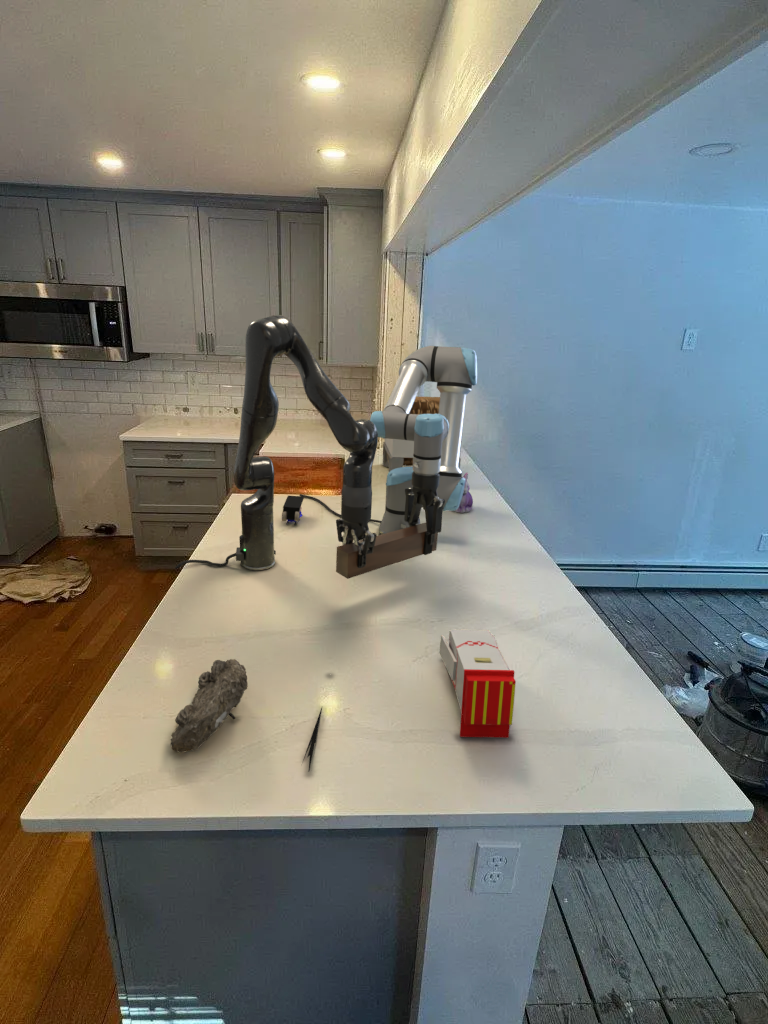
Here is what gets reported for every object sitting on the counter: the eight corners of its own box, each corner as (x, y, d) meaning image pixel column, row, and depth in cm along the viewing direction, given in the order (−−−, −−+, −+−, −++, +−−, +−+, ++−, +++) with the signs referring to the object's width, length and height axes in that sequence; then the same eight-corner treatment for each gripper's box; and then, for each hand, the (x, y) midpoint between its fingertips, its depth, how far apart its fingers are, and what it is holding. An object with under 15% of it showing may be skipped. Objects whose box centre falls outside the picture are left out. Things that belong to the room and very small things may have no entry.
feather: (331, 679, 122) (336, 673, 122) (307, 777, 96) (313, 769, 95) (324, 675, 122) (329, 669, 121) (298, 772, 95) (304, 764, 95)
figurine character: (300, 531, 202) (304, 512, 215) (299, 512, 198) (304, 494, 212) (281, 530, 201) (287, 511, 215) (280, 511, 198) (286, 493, 211)
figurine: (459, 514, 221) (463, 477, 216) (445, 506, 229) (448, 470, 224) (479, 511, 225) (483, 475, 220) (464, 503, 234) (467, 468, 228)
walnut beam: (335, 571, 146) (336, 546, 144) (424, 544, 166) (426, 522, 164) (347, 579, 143) (348, 553, 140) (436, 550, 163) (438, 527, 160)
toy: (489, 613, 130) (525, 677, 101) (485, 667, 133) (518, 744, 104) (437, 612, 130) (457, 676, 101) (434, 666, 133) (453, 743, 103)
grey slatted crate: (381, 463, 289) (385, 382, 275) (444, 464, 292) (450, 384, 279) (389, 482, 257) (393, 392, 243) (459, 483, 261) (467, 394, 247)
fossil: (195, 660, 117) (247, 628, 112) (227, 691, 120) (279, 661, 115) (146, 746, 98) (206, 711, 93) (185, 779, 101) (245, 748, 96)
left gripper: (327, 495, 143) (326, 556, 149) (362, 512, 133) (360, 577, 139) (350, 490, 148) (349, 550, 153) (387, 506, 138) (383, 569, 143)
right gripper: (393, 466, 158) (389, 542, 166) (440, 483, 145) (433, 564, 153) (413, 462, 162) (408, 536, 171) (460, 478, 150) (452, 557, 158)
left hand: (354, 562), depth 146 cm, fingers closed on walnut beam, 5 cm apart
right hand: (420, 550), depth 162 cm, fingers closed on walnut beam, 5 cm apart
